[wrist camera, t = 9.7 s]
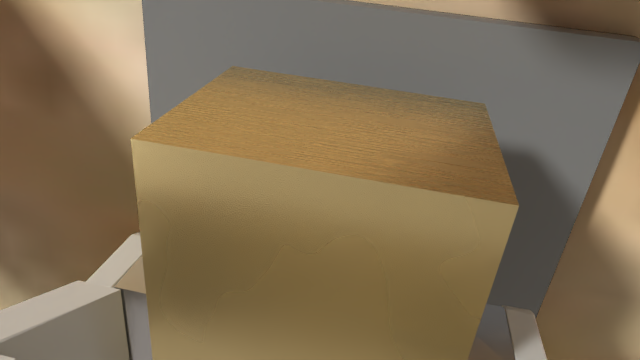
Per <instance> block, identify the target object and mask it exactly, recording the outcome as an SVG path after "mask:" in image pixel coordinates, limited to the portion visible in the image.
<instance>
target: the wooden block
mask: <svg viewBox="0 0 640 360" xmlns="http://www.w3.org/2000/svg"><path fill="white" fill-rule="evenodd" d="M131 148H132V158H133V168H134V178H135V188H136V198H137V208H138V218H139V228H140V238H141V248H142V258H143V268H144V278H145V288H146V298H147V308H148V318H149V328H150V338H151V349H152V359H153V360H467V359H468V356H469V353H470V350H471V347H472V344H473V341H474V338H475V335H476V332H477V329H478V326H479V323H480V320H481V318H482V315H483V312H484V309H485V306H486V303H487V300H488V297H489V294H490V291H491V288H492V285H493V282H494V279H495V276H496V273H497V270H498V267H499V264H500V261H501V258H502V255H503V252H504V249H505V246H506V243H507V240H508V237H509V234H510V231H511V228H512V225H513V223H514V220H515V217H516V214H517V211H518V208H519V204H518V201H517V198H516V195H515V192H514V189H513V186H512V183H511V180H510V177H509V174H508V171H507V168H506V165H505V162H504V159H503V156H502V153H501V150H500V147H499V144H498V141H497V138H496V135H495V132H494V129H493V126H492V123H491V120H490V117H489V114H488V111H487V108H486V105H485V103H478V102H472V101H465V100H458V99H451V98H445V97H438V96H431V95H425V94H418V93H411V92H404V91H398V90H391V89H384V88H377V87H371V86H364V85H357V84H351V83H344V82H337V81H330V80H324V79H317V78H310V77H303V76H297V75H290V74H283V73H277V72H270V71H263V70H256V69H250V68H243V67H236V66H232V67H230V68H229V69H228V70H226V71H225V72H223V73H222V74H221V75H219V76H218V77H216V78H215V79H213V80H212V81H211V82H209V83H208V84H206V85H205V86H204V87H202V88H201V89H199V90H198V91H197V92H195V93H194V94H192V95H191V96H190V97H188V98H187V99H185V100H184V101H183V102H181V103H180V104H178V105H177V106H176V107H174V108H173V109H171V110H170V111H169V112H167V113H166V114H164V115H163V116H162V117H160V118H159V119H157V120H156V121H155V122H153V123H152V124H150V125H149V126H148V127H146V128H145V129H143V130H142V131H141V132H139V133H138V134H136V135H135V136H134V137H132V138H131Z"/></svg>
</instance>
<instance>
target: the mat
mask: <svg viewBox="0 0 640 360" xmlns="http://www.w3.org/2000/svg"><path fill="white" fill-rule="evenodd" d="M142 8H143V21H144V34H145V47H146V60H147V73H148V86H149V99H150V112H151V124H152V123H153V122H155V121H156V120H157V119H159V118H160V117H162V116H163V115H164V114H166V113H167V112H169V111H170V110H171V109H173V108H174V107H176V106H177V105H178V104H180V103H181V102H183V101H184V100H185V99H187V98H188V97H190V96H191V95H192V94H194V93H195V92H197V91H198V90H199V89H201V88H202V87H204V86H205V85H206V84H208V83H209V82H211V81H212V80H213V79H215V78H216V77H218V76H219V75H221V74H222V73H223V72H225V71H226V70H228V69H229V68H230V67H232V66H236V67H243V68H250V69H256V70H263V71H270V72H277V73H283V74H290V75H297V76H303V77H310V78H317V79H324V80H330V81H337V82H344V83H351V84H357V85H364V86H371V87H377V88H384V89H391V90H398V91H404V92H411V93H418V94H425V95H431V96H438V97H445V98H451V99H458V100H465V101H472V102H478V103H485V105H486V108H487V111H488V114H489V117H490V120H491V123H492V126H493V129H494V132H495V135H496V138H497V141H498V144H499V147H500V150H501V153H502V156H503V159H504V162H505V165H506V168H507V171H508V174H509V177H510V180H511V183H512V186H513V189H514V192H515V195H516V198H517V201H518V204H519V208H518V211H517V214H516V217H515V220H514V223H513V225H512V228H511V231H510V234H509V237H508V240H507V243H506V246H505V249H504V252H503V255H502V258H501V261H500V264H499V267H498V270H497V273H496V276H495V279H494V282H493V285H492V288H491V291H490V294H489V297H488V300H487V303H490V304H495V305H500V306H502V305H504V306H510V307H516V308H521V309H527V310H531V311H532V312H533V313H534V315H535V319H536V317H537V314H538V312H539V309H540V307H541V304H542V302H543V299H544V297H545V294H546V292H547V289H548V287H549V285H550V282H551V280H552V277H553V275H554V272H555V270H556V267H557V265H558V262H559V260H560V257H561V255H562V253H563V250H564V248H565V245H566V243H567V240H568V238H569V235H570V233H571V230H572V228H573V225H574V223H575V220H576V218H577V216H578V213H579V211H580V208H581V206H582V203H583V201H584V198H585V196H586V193H587V191H588V188H589V186H590V184H591V181H592V179H593V176H594V174H595V171H596V169H597V166H598V164H599V161H600V159H601V156H602V154H603V152H604V149H605V147H606V144H607V142H608V139H609V137H610V134H611V132H612V129H613V127H614V124H615V122H616V120H617V117H618V115H619V112H620V110H621V107H622V105H623V102H624V100H625V97H626V95H627V92H628V90H629V88H630V85H631V83H632V80H633V78H634V75H635V73H636V70H637V68H638V65H639V63H640V39H639V38H637V37H634V36H626V35H618V34H611V33H603V32H595V31H587V30H579V29H571V28H563V27H555V26H547V25H539V24H531V23H523V22H515V21H507V20H499V19H492V18H484V17H476V16H468V15H460V14H452V13H444V12H436V11H428V10H420V9H412V8H404V7H396V6H388V5H381V4H373V3H365V2H357V1H349V0H142Z"/></svg>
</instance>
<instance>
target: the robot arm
mask: <svg viewBox="0 0 640 360" xmlns="http://www.w3.org/2000/svg"><path fill="white" fill-rule="evenodd" d="M0 360H153V359H152V349H151V338H150V328H149V318H148V308H147V298H146V288H145V278H144V268H143V258H142V248H141V238H140V233H139V232H138V233H135V234H132V235H130V236H129V238H128V239H127V240H126V241H125V242H124V243H123V244H122V245H121V246H120V247H119V248H118V249H117V250H116V251H115V252H114V253H113V254H112V255H111V256H110V257H109V258H108V259H107V260H106V261H105V262H104V263H103V264H102V265H101V266H100V267H99V268H98V269H97V270H96V271H95V272H94V274H93V275H92V276H91V277H90V278H89V279H88V280H87V281H86V282H84V281H79V280H78V281H75V282H72V283H70V284H67V285H65V286H62V287H59V288H57V289H54V290H52V291H49V292H46V293H44V294H41V295H39V296H36V297H33V298H31V299H28V300H26V301H23V302H20V303H18V304H15V305H13V306H10V307H7V308H5V309H2V310H0ZM467 360H547V357H546V353H545V350H544V346H543V343H542V339H541V336H540V332H539V329H538V326H537V322H536V319H535V315H534V313H533V312H532V311H531V310H527V309H521V308H516V307H510V306H504V305H502V306H500V305H495V304H490V303H486V306H485V309H484V312H483V315H482V318H481V320H480V323H479V326H478V329H477V332H476V335H475V338H474V341H473V344H472V347H471V350H470V353H469V356H468V359H467Z"/></svg>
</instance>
